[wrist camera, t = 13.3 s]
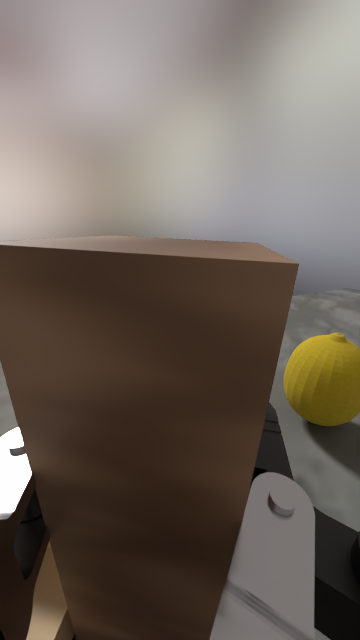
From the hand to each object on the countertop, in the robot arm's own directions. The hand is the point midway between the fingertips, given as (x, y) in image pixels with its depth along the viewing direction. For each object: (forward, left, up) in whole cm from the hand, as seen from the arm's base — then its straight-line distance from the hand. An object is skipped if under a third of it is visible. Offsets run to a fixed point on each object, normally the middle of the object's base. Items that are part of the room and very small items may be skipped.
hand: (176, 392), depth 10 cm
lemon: (+10, +9, -9) cm, 16 cm away
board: (-7, -10, -8) cm, 14 cm away
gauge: (-4, -3, -8) cm, 9 cm away
